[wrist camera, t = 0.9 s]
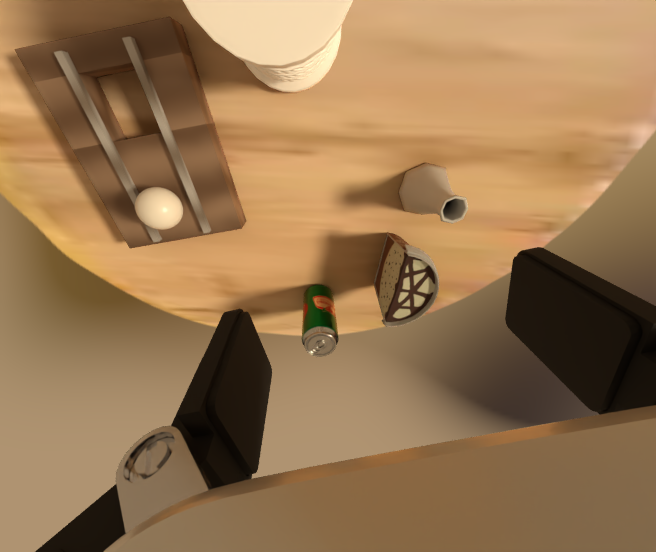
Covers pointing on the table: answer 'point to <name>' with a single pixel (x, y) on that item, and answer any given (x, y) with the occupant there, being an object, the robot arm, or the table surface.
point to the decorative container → (276, 36)
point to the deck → (146, 151)
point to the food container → (404, 282)
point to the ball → (159, 208)
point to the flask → (431, 194)
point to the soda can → (319, 321)
